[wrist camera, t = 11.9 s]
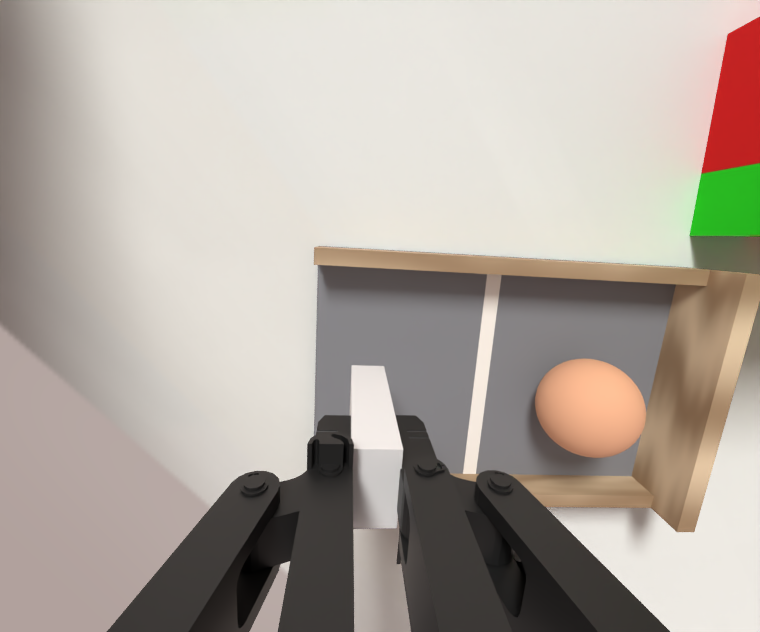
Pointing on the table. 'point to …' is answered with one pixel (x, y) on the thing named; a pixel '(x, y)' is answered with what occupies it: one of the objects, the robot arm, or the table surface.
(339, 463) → the robot arm
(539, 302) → the tray
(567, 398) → the ball
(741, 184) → the puzzle toy
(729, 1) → the table surface
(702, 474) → the divided wooden tray
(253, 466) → the table surface
